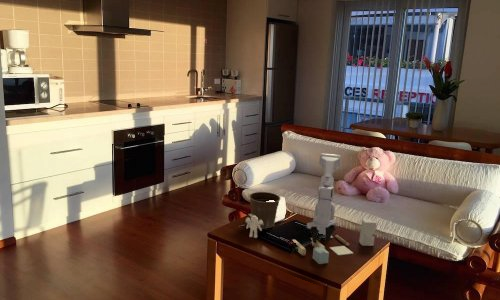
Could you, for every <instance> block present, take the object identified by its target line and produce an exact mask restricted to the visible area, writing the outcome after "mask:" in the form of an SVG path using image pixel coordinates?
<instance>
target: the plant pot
mask: <svg viewBox="0 0 500 300" xmlns="http://www.w3.org/2000/svg"><path fill="white" fill-rule="evenodd" d="M248 198H249V202H250V203H249V204H250V214H251V215H252V216H257V218H258V222H259V220H261V219H262V221H263V225H262V224H259V225H260V227H261V228H262V229H266V230H268V229H267V228H271V227H273V226H274V227H275V223H276V217H277V212H278V211H277V210H278V207H279V203H280V200H281V196H280V195H278V194H276V193H272V192H268V191H256V192H252V193H251V194H249V197H248ZM269 200H274V201H275V202H266V201H269ZM274 227H273V228H274ZM257 230H259V228H258V226H257Z"/></svg>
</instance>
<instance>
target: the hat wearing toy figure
mask: <svg viewBox="0 0 500 300" xmlns="http://www.w3.org/2000/svg"><path fill="white" fill-rule="evenodd" d="M248 216H250V217H246V218H245V223H246V227H245V228H246V229H247V230H248V229H249V228H250V230H249V235H248V236H249V238H255V239H257V238H258V237H259V236H258V230H259V231H260V232H262V231H263V230H262V228H261V227H260V225H259V224H262V225H263V221H262V219H261V220H259V222H258V218H257V216H252V215H251V213H248ZM257 226H258V228H259V229H257Z"/></svg>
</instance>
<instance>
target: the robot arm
mask: <svg viewBox="0 0 500 300" xmlns="http://www.w3.org/2000/svg"><path fill="white" fill-rule="evenodd" d="M341 158H342V157H341V154H332V153H323V152H321V153H320V154H319V161H318V163H319V164H318V165H319V168H321V169H323V175H321V177H320V184H319V188H318V190H317V202H316V203H315V207H314V218H313V220H312V221H311V222H307V223H306V229H308V230H309V231H310V233H311V234H310V235H311V238H312V240H313V242H314V243H316V242H317V241H318V238H317V235H318V233H319V234H323V235H325V239H324V240H325V242H326V243H329V242H330V240H331V239H333V238H334V237H333V236H332V235H333V233H334V232H335V230H336V227H338V221H337V220H335V213H336V212H335V210H336V205H335V203H333V199H334V191H335V190H334V181H335V180H334V179H335V178H334V177H333V175H334V172H335V171H337V170H339V169H340V167H341Z"/></svg>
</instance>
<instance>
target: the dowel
mask: <svg viewBox="0 0 500 300" xmlns="http://www.w3.org/2000/svg"><path fill="white" fill-rule="evenodd" d="M334 237H335V238H336V239H337V241H339V242H341V244H343V245H344V246H345V247H346V246H347V247H350V243H349V242H347V241H346V240H345V239H343V238H342V237H341V236H339V235H338V234H335V236H334Z"/></svg>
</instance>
